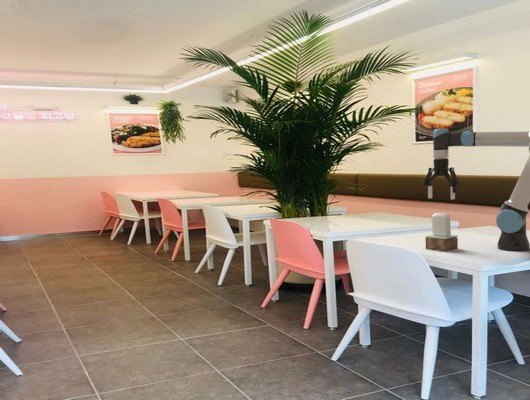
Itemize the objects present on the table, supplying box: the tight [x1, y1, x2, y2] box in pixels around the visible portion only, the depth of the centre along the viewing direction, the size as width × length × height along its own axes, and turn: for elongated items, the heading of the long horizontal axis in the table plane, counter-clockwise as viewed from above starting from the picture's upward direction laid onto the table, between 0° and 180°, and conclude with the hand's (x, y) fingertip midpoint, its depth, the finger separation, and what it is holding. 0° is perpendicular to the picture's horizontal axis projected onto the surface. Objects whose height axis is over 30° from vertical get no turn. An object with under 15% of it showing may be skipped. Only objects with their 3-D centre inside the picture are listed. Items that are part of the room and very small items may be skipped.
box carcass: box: [425, 237, 459, 252], centre depth 269 cm, size 12×11×6 cm
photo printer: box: [431, 212, 452, 236], centre depth 268 cm, size 10×4×12 cm, turn 29°
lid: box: [425, 234, 458, 239], centre depth 269 cm, size 12×11×1 cm
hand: (441, 198), depth 267 cm, fingers open, 13 cm apart
